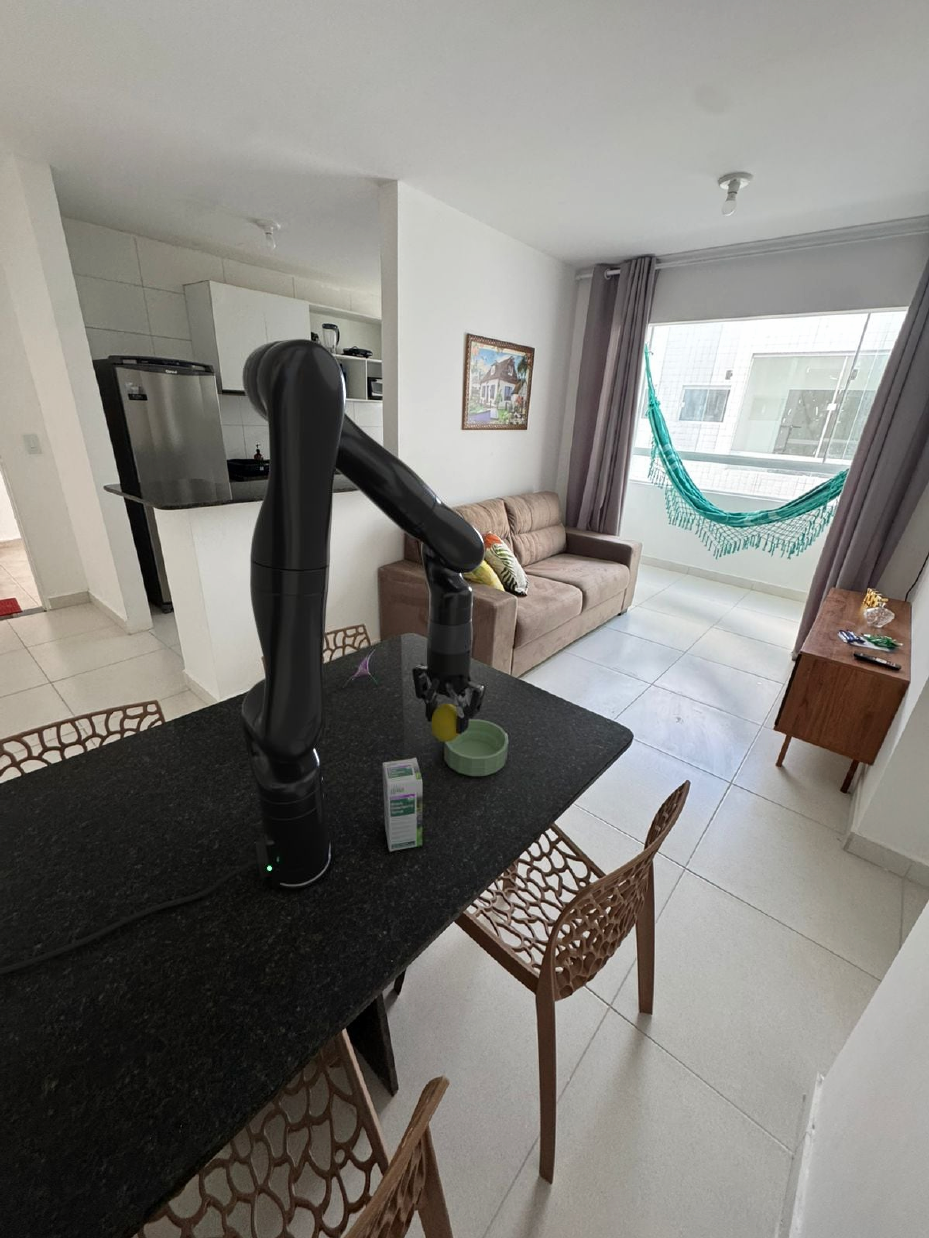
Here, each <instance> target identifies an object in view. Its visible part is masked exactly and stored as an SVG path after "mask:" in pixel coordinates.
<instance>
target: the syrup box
mask: <svg viewBox="0 0 929 1238" xmlns="http://www.w3.org/2000/svg"><path fill="white" fill-rule="evenodd" d="M382 785H383V787H382V789H383V808H384V809H383V811H384V828H385V829H384V830H385V834H386V841H387V848H388V851H389V852H390V853H391V852H394V851H399V850H404V849H405V850H406V849H410V848H411V849H412V848H416V847H422V846H423V778H422V773H421V771H420V766H419V763H418V760H417V757H412V758H408V759H397V760H392V761H385V762H382Z"/></svg>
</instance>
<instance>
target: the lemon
mask: <svg viewBox="0 0 929 1238" xmlns="http://www.w3.org/2000/svg"><path fill="white" fill-rule="evenodd" d="M457 716H458V713H457V710H456V707H455V706H453V704H452V703H443V704H440V705H439V706H437V708H436V709H435V711H434V713H433V716H432V720H431V722H430V726H431V727H430V728H431V731H432V734H433V735H434V737H435V738H436V739H437V740H439V741H441V742H443V743H444V742H448V741H452V740H454V739H455V738H456V737H457V736H458V735H459V734H458V733H456V729H457Z"/></svg>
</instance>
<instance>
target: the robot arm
mask: <svg viewBox="0 0 929 1238" xmlns="http://www.w3.org/2000/svg"><path fill="white" fill-rule="evenodd" d="M241 378H242V386H243V391H244V394H245V397H246V399H247V401H248V403H249V404H250V406H251V407H252V409H253V410H254V411H255V413H257V415H258V416H260V418H262V419H263V420H264V421H266V422H267V425H268V444H269V445H268V446H269V447H268V448H269V449H268V450H269V466H268V467H269V469H268V471H269V472H268V479H267V484H266V489H265V493H264V496H263V500H262V502H261V505H260V509H259V511H258V513H257V517H256V521H255V525H254V528H253V531H252V532H253V533H252V538H251V543H250V555H249V557H250V559H249V571H250V572H249V590H250V602H251V608H252V614H253V618H254V623H255V628H256V632H257V637H258V640H259V644H260V649H261V653H262V657H263V658H262V659H263V664H264V678H263V679H261V680H260V681H257V682H256V683H255V684H254V685H253V686H252V687H251V688H250V689H249V690H248V692H247V693H246V694H245V697H244V698H243V701H242V705H241V713H240V714H241V725H242V730H243V735H244V736H243V737H244V741H245V746H246V751H247V757H248V762H249V765H250V769H251V771H252V775H253V777H254V780H255V781H254V782H255V785H256V790H257V796H258V803H259V809H260V815H261V823H262V830H263V838H264V839H263V840H261V841H257V842H255V850H256V858H254V859H253V860H251V861H250V860H249V862H247V863H244V864H243V865H240V866H239V867H237V868H235V869H233V870H231V871H229V872H228V873H226V874H225V875H223V876H222V877H221V878H219V879H218V880H217V881H216V882H215V883H213V885H211V886H209V887H207V888H206V889H203V890H201V891H199V892H196V893H193V894H191V895H187V896H184V897H180V898H176V899H173V900H169V901H165V902H162V903H158V904H156V905H152V906H149V907H148V908H147V907H146V908H145V909H142V910H140V911H137V912H135V913H133V914H130V915H128V916H125V918H122V919H120V920H117V921H116V922H114V923H112V924H110V925H108V926H106V927H104V928H102V929H100V930H98V931H96V932H93V933H92V934H89V935H87V936H85V937H83V938H81V939H78V940H76V941H73V942H71V943H69V944H66V945H63V946H61V947H58V948H56V949H54V950H51V951H48V952H46V953H43V954H40V955H38V956H35V957H32V958H29V959H26V960H23V961H20V962H17V963H13V964H10V965H6V966H3V967H0V976H2V975H5V974H8V973H12V972H15V971H18V970H21V969H24V968H27V967H30V966H33V965H36V964H38V963H41V962H44V961H47V960H49V959H52V958H55V957H57V956H59V955H63V954H64V953H67V952H69V951H73V950H75V949H76V948H79V947H81V946H84V945H86V944H88V943H90V942H92V941H94V940H97V939H99V938H101V937H103V936H105V935H107V934H109V933H111V932H113V931H115V930H117V929H119V928H121V927H123V926H124V925H127V924H129V923H131V922H133V921H135V920H137V919H140V918H142V917H145V916H147V915H149V914H152V913H155V912H159V911H161V910H164V909H168V908H172V907H175V906H179V905H183V904H186V903H190V902H192V901H195V900H199V899H200V898H203V897H205V896H207V895H210V894H211V893H213V892H215V891H216V890H217V889H219V888H220V887H221V886H222V885H223V884H225V883H226V882H227V881H229V880H230V879H232V878H233V877H235V876H236V875H238V874H240V873H242V872H245V871H246V870H248V869H250V868H252V867H255V866H256V865H258V866H257V867H258V870H259V876H260V877H259V878H260V879H264V878H266V877H270V881H271V887H272V890H277V889H283V890H289V891H297V890H302V889H305V888H308V887H310V886H313V885H314V884H316V883H317V882H319V881H320V880H321V879H322V878H323V877H324V876H325V875H326V874H327V872H328V871H329V868H330V865H331V862H332V861H331V848H332V847H331V845H330V842H329V833H328V832H329V831H328V821H327V820H328V818H327V809H326V798H325V786H324V785H325V784H324V775H323V766H322V765H323V764H322V760H321V757H320V755H319V752H318V750H317V746H318V744H319V743H320V741H321V739H322V736H323V734H324V731H325V725H326V707H325V693H324V692H325V691H324V670H323V669H324V668H323V667H324V666H323V664H324V663H323V661H324V647H325V636H326V620H327V619H326V618H327V603H328V595H329V584H330V583H329V582H330V565H331V537H332V521H333V505H334V504H333V502H334V501H333V498H334V484H335V483H334V482H335V474H336V471H337V472H338V473H339V474H341V475H342V476H343V477H344V478H345V479H346V480H347V481H349V482H350V483H351V484H352V485H353V486H354V487H355V488H356V489H357V490H358V491H359V492H360V493H362V494H363V496H365V497H366V499H368V500H369V501H370V502H371V503H372V504H373V505H374V506H375V507H376V508H377V509H378V510H380V511H381V513H382V514H384V515H385V517H387V518H388V519H389V520H390V521H391V522H392V523H394V525H396V526H397V527H398V528H399V529H400V530H401V531H402V532H403V533H405V534H407V535H408V536H409V537H411V538H413V539H415V540H417V541H419V542H421V550H420V551H421V559H422V566H423V570H424V574H425V578H426V579H425V580H426V584H427V588H428V591H429V597H428V598H429V599H428V600H429V601H428V603H429V604H428V605H429V606H428V622H427V629H426V664H425V663H423V662H421V663H419V664H418V665H416V666H415V667H413V668H412V670H411V673H412V680H413V685H414V691H415V696H416V698H417V699H419V700H420V699H421V700H423V702H424V705H425V712H424V713H425V718H426V719H427V722H429V723H431V720H432V716H433V713H434V711H435V709H436V708H437V707H438V702H439V701H438V700H437V699H438V696H439V695H440V696H444V697H447V698H448V699H450V700H451V705H453V706H455V707H456V710H457V713H458V716H457V729H456V733H458V734H462V733H463V732H464V731H465V730H466V729H467V728H468V726H469V719H474V717H475V716H476V715H477V714H478V713H479V712H480V711H481V708H482V704H483V701H484V697H485V694H486V690H487V685H486V684H485V683H480V684H478V683H475V682H474V681H472V677H471V674H470V671H471V667H472V650H473V632H474V631H473V629H474V628H473V603H474V593H473V588H472V586H471V585H470V584H469V583H468V582H467V581H466V580H465V579H464V577H463V575H462V574H470V573H472V572H474V571H476V570H477V569H478V568H479V567H480V566H481V565H482V564H483V562H484V559H485V555H486V545H485V542H484V539H483V537H482V535H481V533H480V532H479V531H478V529H476V528H475V526H473V525H472V524H471V522H468V520H466V519H465V518H464V517H463V516H461V515H460V514H459V513H457V512H456V511H455V510H454V509H452V508H451V507H449V506H448V505H447V504H445V503H444V502H443V501H442V500H441V499H440V498H439V496H438V495H437V494H436V493H435V492H434V490H433V489H432V488H431V487H430V486H429V485H428V484H427V483H426V482H425V481H424V480H423V479H422V478H421V477H420V476H419V474H417V472H415V470H413V469H412V468H411V467H410V466H409V465H408V464H407V463H405V462H404V461H403V460H402V459H401V458H399V457H398V456H397V455H396V454H394V453H393V452H391V451H390V450H389V449H387V448H386V447H385V446H383V445H382V444H380V442H378V441H377V440H375V439H374V438H373V437H372V436H371V435H369V434H368V433H367V432H366V431H365V430H363V428H361V427H360V426H359V425H358V424H357V423H356V422H355V421H354V420H353V419H352V418H351V417H349V415H348V414H347V413H346V404H347V386H346V380H345V376H344V373H343V370H342V367H341V366H340V363H339V361H338V360H337V358H336V356H335V355H334V354H333V353H332V352H331V351H330V350H329V349H328V348H327V347H326V346H324V345H323V344H321V343H320V342H317V341H314V340H312V339H307V338H294V339H292V338H291V339H284V340H275V341H272V342H268V343H265V344H262V345H259V346H258V347H257V348H255V349H254V350H253V351H252V352H251V353H250V354H248V357H247V358H246V360H245V362H244V365H243V368H242V375H241ZM428 680H429V682H430V685H429V683H428ZM467 689H468V690H469V693H468V690H467ZM469 697H470V701H469Z"/></svg>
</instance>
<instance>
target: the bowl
mask: <svg viewBox="0 0 929 1238" xmlns="http://www.w3.org/2000/svg"><path fill="white" fill-rule="evenodd" d="M508 748H509V738H508V734H507V733H506V732H505V730H504V729H503V728H502V727H501V726H500V725H498V724H496V723H494V722H492V721H488V720H484V719H479V718H478V719H477V718H476V719H474V718H469V726H468V728H467V729H466V730H465V731H464V732H463V733H462V734H459V735H458V736H457V737H456V738H455V739H454V740H452V741H448V742H444V741H443V759H444V761H445V763H446V764H447V766H448V767H449V768H451V769H452V770H453V771H455V772H456V773H458V774H461V775H466V776H469V777H487V776H489V775H492V774H495V773H497V772H499V770H501V769H502V768H503V767H504V766H505V765H506V761H507V760H508V750H509V749H508Z"/></svg>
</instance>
